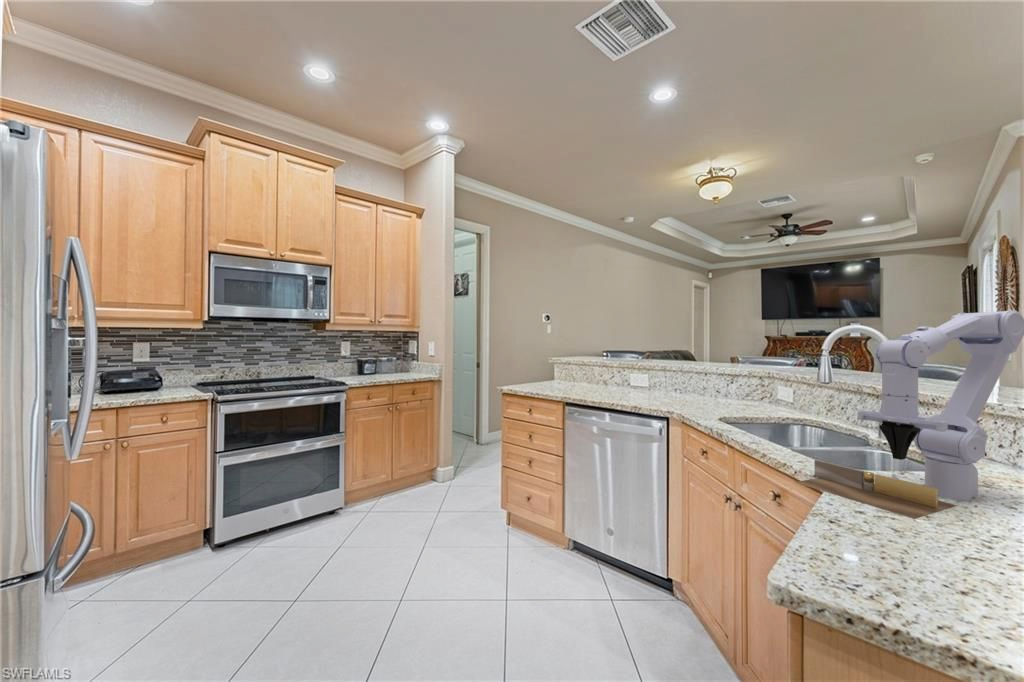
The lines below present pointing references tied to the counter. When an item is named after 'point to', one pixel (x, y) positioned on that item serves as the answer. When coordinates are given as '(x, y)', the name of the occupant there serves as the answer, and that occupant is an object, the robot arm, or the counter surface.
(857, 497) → the hinge base
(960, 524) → the counter surface
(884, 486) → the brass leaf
